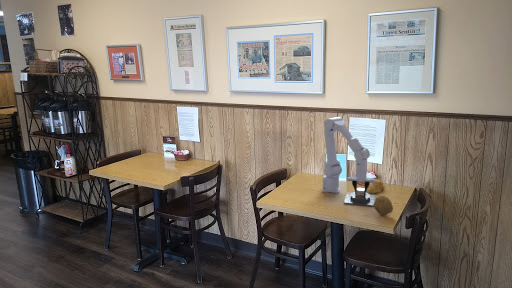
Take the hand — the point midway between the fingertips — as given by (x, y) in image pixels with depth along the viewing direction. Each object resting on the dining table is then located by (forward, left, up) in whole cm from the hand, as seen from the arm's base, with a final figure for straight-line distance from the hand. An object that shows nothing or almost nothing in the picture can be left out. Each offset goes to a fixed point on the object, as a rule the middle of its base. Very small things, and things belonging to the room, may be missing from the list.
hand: (360, 194), depth 212 cm
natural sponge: (+12, -17, -4) cm, 21 cm away
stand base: (0, 0, -4) cm, 4 cm away
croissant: (+6, +20, -4) cm, 21 cm away
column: (0, 0, -4) cm, 4 cm away
